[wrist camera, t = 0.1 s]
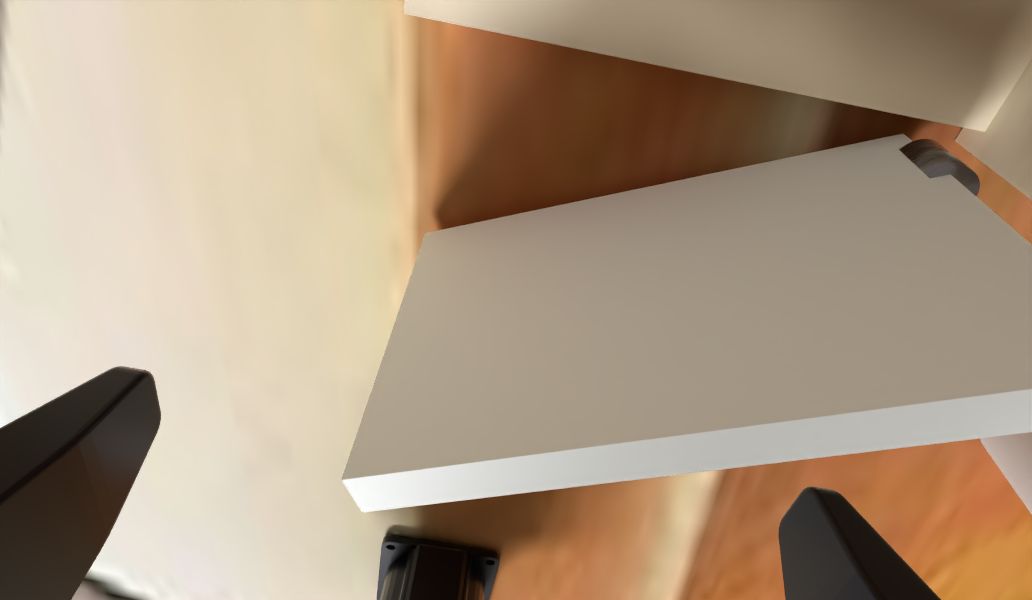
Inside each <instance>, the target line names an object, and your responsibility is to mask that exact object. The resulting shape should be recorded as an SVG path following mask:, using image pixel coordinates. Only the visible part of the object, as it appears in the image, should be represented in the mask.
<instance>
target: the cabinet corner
mask: <svg viewBox="0 0 1032 600" xmlns="http://www.w3.org/2000/svg"><path fill="white" fill-rule="evenodd" d="M404 14H408V15H413V16H418V17H423V18H427V19H432V20H437V21H442V22H447V23H452V24H457V25H462V26H467V27H472V28H477V29H481V30H486V31H491V32H496V33H501V34H506V35H511V36H516V37H521V38H526V39H531V40H536V41H540V42H545V43H550V44H555V45H560V46H565V47H570V48H575V49H580V50H585V51H590V52H594V53H599V54H604V55H609V56H614V57H619V58H624V59H629V60H634V61H639V62H644V63H649V64H653V65H658V66H663V67H668V68H673V69H678V70H683V71H688V72H693V73H698V74H703V75H707V76H712V77H717V78H722V79H727V80H732V81H737V82H742V83H747V84H752V85H757V86H761V87H766V88H771V89H776V90H781V91H786V92H791V93H796V94H801V95H806V96H811V97H816V98H820V99H825V100H830V101H835V102H840V103H845V104H850V105H855V106H860V107H865V108H870V109H874V110H879V111H884V112H889V113H894V114H899V115H904V116H909V117H914V118H919V119H924V120H929V121H933V122H938V123H943V124H948V125H953V126H958V127H963V128H962V130H961V132H960V133H959V135H958V137H957V138H956V140H955V141H956V142H957V143H958V144H960V145H961V146H962V147H963V148H965V149H966V150H967V151H969V152H970V153H971V154H973V155H974V156H975V157H976V158H978V159H979V160H980V161H982V162H983V163H984V164H985V165H987V166H988V167H989V168H991V169H992V170H993V171H995V172H996V173H997V174H998V175H1000V176H1001V177H1002V178H1004V179H1005V180H1006V181H1007V182H1009V183H1010V184H1011V185H1013V186H1014V187H1015V188H1017V189H1018V190H1019V191H1020V192H1022V193H1023V194H1024V195H1026V196H1027V197H1028V198H1029V199H1031V200H1032V0H405V2H404Z"/></svg>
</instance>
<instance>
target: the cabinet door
mask: <svg viewBox="0 0 1032 600" xmlns="http://www.w3.org/2000/svg"><path fill="white" fill-rule="evenodd" d="M979 187H980V182H979V178H978V176H977V175H976V173H975V172H973V171H972V170H971V169H970V168H969V167H967V166H966V165H965V164H964V163H962V162H961V161H960V160H959V159H957V158H956V157H955V156H954V155H953V154H951V153H950V152H949V151H948V150H946V149H945V148H944V147H943V146H941V145H940V144H939V143H938V142H936V141H934V140H930V139H921V140H916V141H911V140H910V139H909V138H908V137H907V136H906V135H905V134H899V135H894V136H889V137H884V138H879V139H875V140H870V141H865V142H860V143H855V144H851V145H846V146H841V147H836V148H831V149H827V150H822V151H817V152H812V153H807V154H803V155H798V156H793V157H788V158H783V159H779V160H774V161H769V162H764V163H759V164H755V165H750V166H745V167H740V168H735V169H731V170H726V171H721V172H716V173H711V174H707V175H702V176H697V177H692V178H687V179H683V180H678V181H673V182H668V183H663V184H659V185H654V186H649V187H644V188H639V189H635V190H630V191H625V192H620V193H615V194H611V195H606V196H601V197H596V198H591V199H587V200H582V201H577V202H572V203H567V204H563V205H558V206H553V207H548V208H543V209H539V210H534V211H529V212H524V213H519V214H515V215H510V216H505V217H500V218H495V219H491V220H486V221H481V222H476V223H471V224H467V225H462V226H457V227H452V228H447V229H443V230H438V231H433V232H428V233H425V236H424V239H423V242H422V245H421V248H420V251H419V254H418V256H417V259H416V262H415V265H414V268H413V271H412V274H411V277H410V280H409V283H408V286H407V289H406V292H405V295H404V298H403V301H402V303H401V306H400V309H399V312H398V315H397V318H396V321H395V324H394V327H393V330H392V333H391V336H390V339H389V342H388V345H387V348H386V350H385V353H384V356H383V359H382V362H381V365H380V368H379V371H378V374H377V377H376V380H375V383H374V386H373V389H372V392H371V395H370V397H369V400H368V403H367V406H366V409H365V412H364V415H363V418H362V421H361V424H360V427H359V430H358V433H357V436H356V439H355V442H354V444H353V447H352V450H351V453H350V456H349V459H348V462H347V465H346V468H345V471H344V474H343V477H342V482H343V483H344V485H345V486H346V488H347V489H348V491H349V493H350V494H351V496H352V497H353V499H354V500H355V502H356V504H357V505H358V507H359V508H360V510H361V511H362V513H363V512H371V511H379V510H388V509H396V508H404V507H413V506H421V505H429V504H438V503H446V502H454V501H463V500H471V499H479V498H487V497H496V496H504V495H512V494H521V493H529V492H537V491H546V490H554V489H562V488H571V487H579V486H587V485H596V484H604V483H612V482H621V481H629V480H637V479H646V478H654V477H662V476H670V475H679V474H687V473H695V472H704V471H712V470H720V469H729V468H737V467H745V466H754V465H762V464H770V463H779V462H787V461H795V460H804V459H812V458H820V457H828V456H837V455H845V454H853V453H862V452H870V451H878V450H887V449H895V448H903V447H912V446H920V445H928V444H937V443H945V442H953V441H962V440H970V439H978V438H987V437H995V436H1003V435H1011V434H1020V433H1028V432H1032V244H1030V243H1029V242H1028V241H1027V240H1026V239H1025V238H1023V237H1022V236H1021V235H1020V234H1019V233H1018V232H1017V231H1015V230H1014V229H1013V228H1012V227H1011V226H1010V225H1008V224H1007V223H1006V222H1005V221H1004V220H1003V219H1002V218H1000V217H999V216H998V215H997V214H996V213H995V212H993V211H992V210H991V209H990V208H989V207H988V206H987V205H985V204H984V203H983V202H982V201H981V200H980V199H978V198H977V197H976V196H977V194H978V191H979Z"/></svg>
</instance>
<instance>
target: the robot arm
mask: <svg viewBox="0 0 1032 600" xmlns="http://www.w3.org/2000/svg"><path fill="white" fill-rule="evenodd" d="M160 421H161V411H160V406H159V401H158V396H157V391H156V386H155V381H154V378H153V375H152V374H151V373H150V372H148V371H146V370H141V369H135V368H129V367H123V366H119V367H115V368H112V369H110V370H108V371H106V372H104V373H102V374H100V375H98V376H97V377H95V378H93V379H91V380H89V381H87V382H85V383H83V384H82V385H80V386H78V387H76V388H74V389H72V390H70V391H69V392H67V393H65V394H63V395H61V396H59V397H57V398H55V399H54V400H52V401H50V402H48V403H46V404H44V405H42V406H41V407H39V408H37V409H35V410H33V411H31V412H29V413H27V414H26V415H24V416H22V417H20V418H18V419H16V420H14V421H13V422H11V423H9V424H7V425H5V426H3V427H1V428H0V600H71V599H72V597H73V595H74V594H75V592H76V590H77V589H78V587H79V586H80V584H81V582H82V581H83V579H84V577H85V576H86V574H87V572H88V571H89V569H90V567H91V566H92V564H93V562H94V561H95V559H96V557H97V556H98V554H99V552H100V550H101V549H102V547H103V545H104V543H105V542H106V540H107V538H108V536H109V534H110V532H111V530H112V528H113V526H114V524H115V522H116V520H117V518H118V516H119V514H120V512H121V509H122V507H123V505H124V503H125V501H126V499H127V496H128V494H129V492H130V490H131V488H132V486H133V484H134V481H135V479H136V477H137V475H138V473H139V471H140V468H141V466H142V464H143V462H144V460H145V458H146V455H147V453H148V451H149V449H150V447H151V445H152V442H153V440H154V438H155V436H156V434H157V431H158V429H159V425H160ZM779 544H780V553H781V562H782V571H783V580H784V589H785V598H786V600H941V599H940V598H939V597H938V596H937V595H936V594H935V593H934V592H933V591H932V590H931V589H930V588H929V587H928V585H927V584H926V583H925V582H924V581H923V580H922V579H921V578H920V577H919V576H918V575H917V574H916V573H915V572H914V571H913V570H912V569H911V568H910V566H909V565H908V564H907V563H906V562H905V561H904V560H903V559H902V558H901V557H900V556H899V555H898V554H897V553H896V552H895V551H894V550H893V549H892V547H891V546H890V545H889V544H888V543H887V542H886V541H885V540H884V539H883V538H882V537H881V536H880V535H879V534H878V533H877V532H876V531H875V530H874V528H873V527H872V526H871V525H870V524H869V523H868V522H867V521H866V520H865V519H864V518H863V517H862V516H861V515H860V514H859V513H858V512H857V511H856V509H855V508H854V507H853V506H852V505H851V504H850V503H849V502H848V501H847V500H846V499H845V498H844V497H843V496H842V495H841V494H840V493H838V492H836V491H834V490H829V489H823V488H818V487H808V488H806V489H804V490H803V491H802V492H801V493H800V495H799V496H798V498H797V499H796V500H795V502H794V503H793V504H792V506H791V507H790V508H789V510H788V511H787V513H786V514H785V515H784V517H783V518H782V520H781V523H780V526H779ZM499 560H500V555H499V554H498V553H497V552H494V551H489V550H483V549H476V548H470V547H464V546H457V545H451V544H444V543H438V542H431V541H425V540H418V539H412V538H405V537H399V536H391V535H389V536H386V537H384V539H383V543H382V548H381V558H380V569H379V580H378V590H377V600H489V597H490V594H491V590H492V587H493V583H494V580H495V577H496V573H497V570H498V566H499Z"/></svg>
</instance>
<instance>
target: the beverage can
mask: <svg viewBox="0 0 1032 600" xmlns="http://www.w3.org/2000/svg"><path fill="white" fill-rule="evenodd" d="M980 440H981V442H982V444H983V446H984V447H985V449H986V450H987V451H988V453H989V454H990V456H991V457H992V459H993V460H994V461H995V463H996V464H997V466H998V467H999V469H1000V470H1001V471H1002V473H1003V474H1004V476H1005V477H1006V479H1007V480H1008V481H1009V483H1010V484H1011V486H1012V487H1013V489H1014V490H1015V491H1016V493H1017V494H1018V496H1019V497H1020V499H1021V500H1022V501H1023V503H1024V504H1025V506H1026V507H1027V509H1028V510H1029V511H1030V513H1031V514H1032V432H1028V433H1020V434H1011V435H1003V436H995V437H987V438H980Z"/></svg>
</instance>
